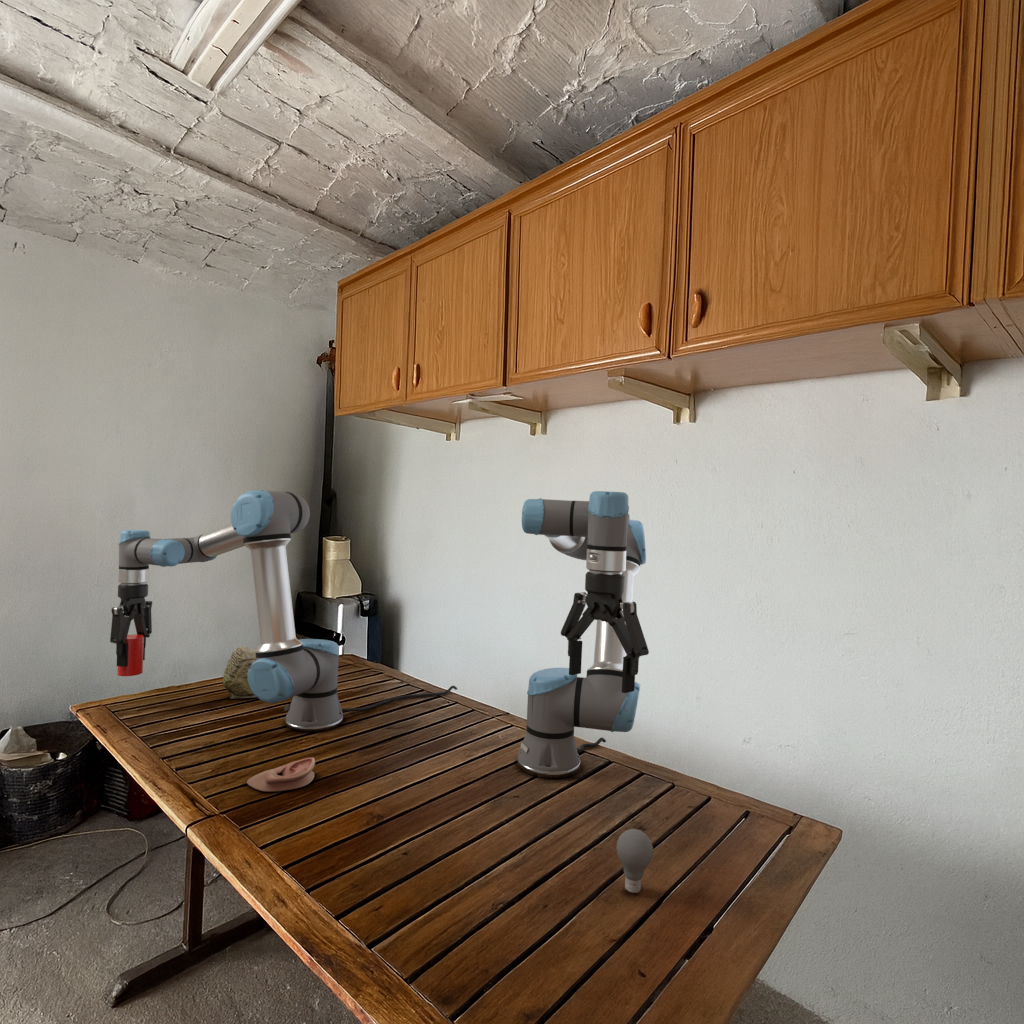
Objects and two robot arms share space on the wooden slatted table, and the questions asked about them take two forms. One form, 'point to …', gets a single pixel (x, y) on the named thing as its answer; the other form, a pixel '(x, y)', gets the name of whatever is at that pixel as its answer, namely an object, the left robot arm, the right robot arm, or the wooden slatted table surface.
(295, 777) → the anatomical model
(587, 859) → the wooden slatted table surface
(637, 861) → the light bulb
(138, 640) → the tin
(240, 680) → the fossil
